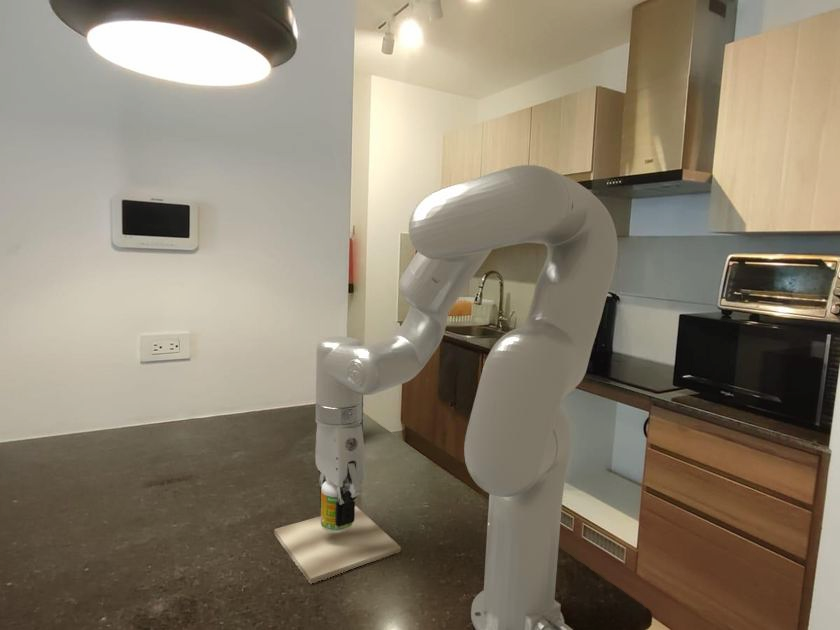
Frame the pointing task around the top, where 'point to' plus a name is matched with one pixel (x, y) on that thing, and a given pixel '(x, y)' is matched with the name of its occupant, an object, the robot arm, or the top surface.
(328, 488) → the supplement bottle
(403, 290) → the robot arm
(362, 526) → the birch board
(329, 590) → the top surface
